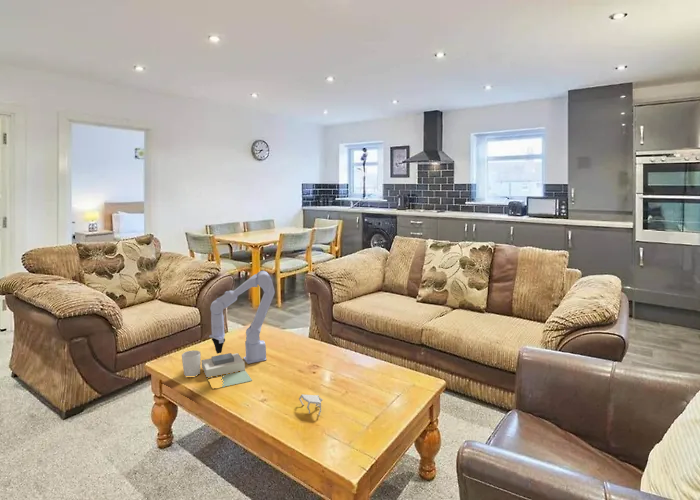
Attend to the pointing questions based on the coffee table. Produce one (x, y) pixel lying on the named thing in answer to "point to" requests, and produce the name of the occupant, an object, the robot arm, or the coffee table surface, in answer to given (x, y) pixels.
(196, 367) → the white cup
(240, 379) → the mat
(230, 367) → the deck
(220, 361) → the gray rectangular block
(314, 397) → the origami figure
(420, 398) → the coffee table surface
